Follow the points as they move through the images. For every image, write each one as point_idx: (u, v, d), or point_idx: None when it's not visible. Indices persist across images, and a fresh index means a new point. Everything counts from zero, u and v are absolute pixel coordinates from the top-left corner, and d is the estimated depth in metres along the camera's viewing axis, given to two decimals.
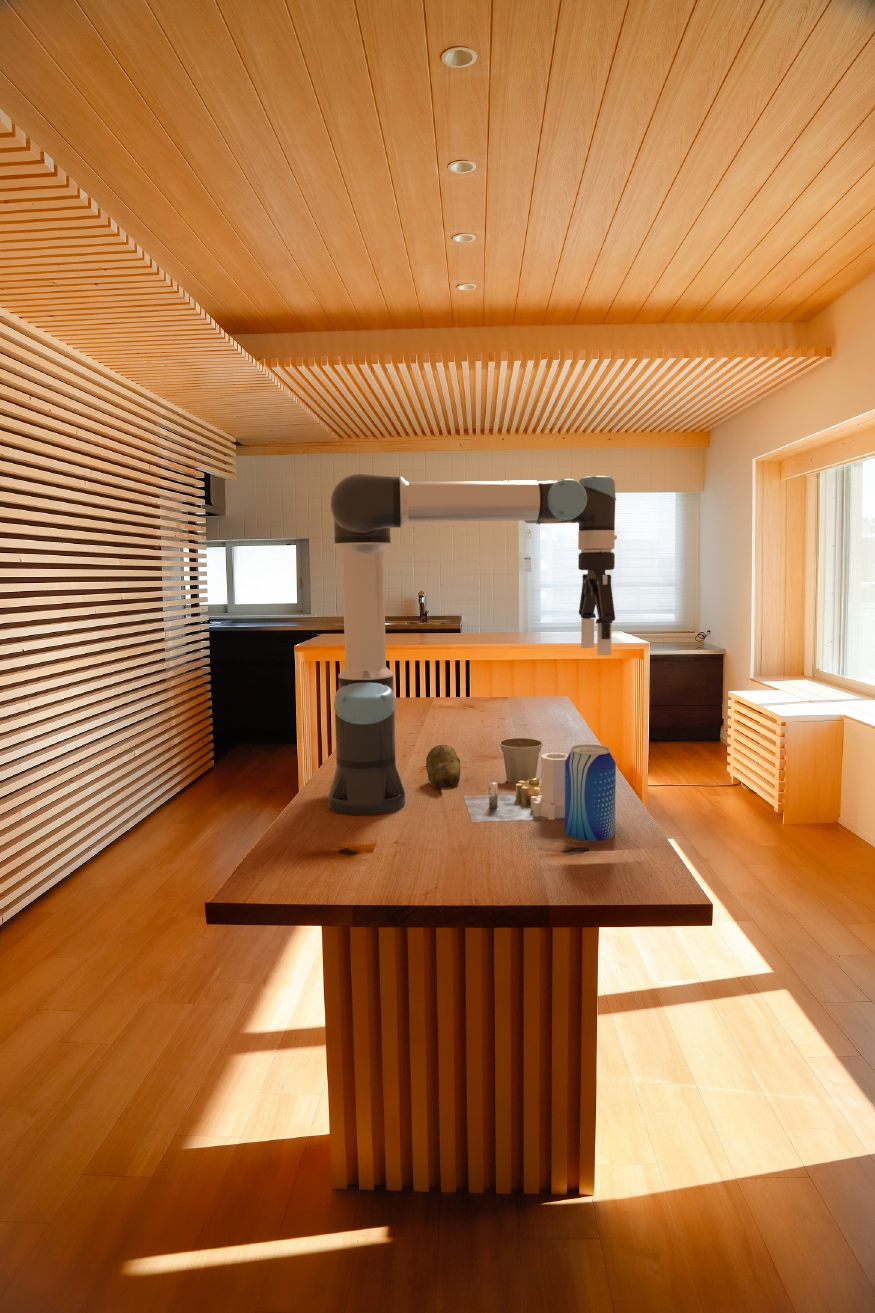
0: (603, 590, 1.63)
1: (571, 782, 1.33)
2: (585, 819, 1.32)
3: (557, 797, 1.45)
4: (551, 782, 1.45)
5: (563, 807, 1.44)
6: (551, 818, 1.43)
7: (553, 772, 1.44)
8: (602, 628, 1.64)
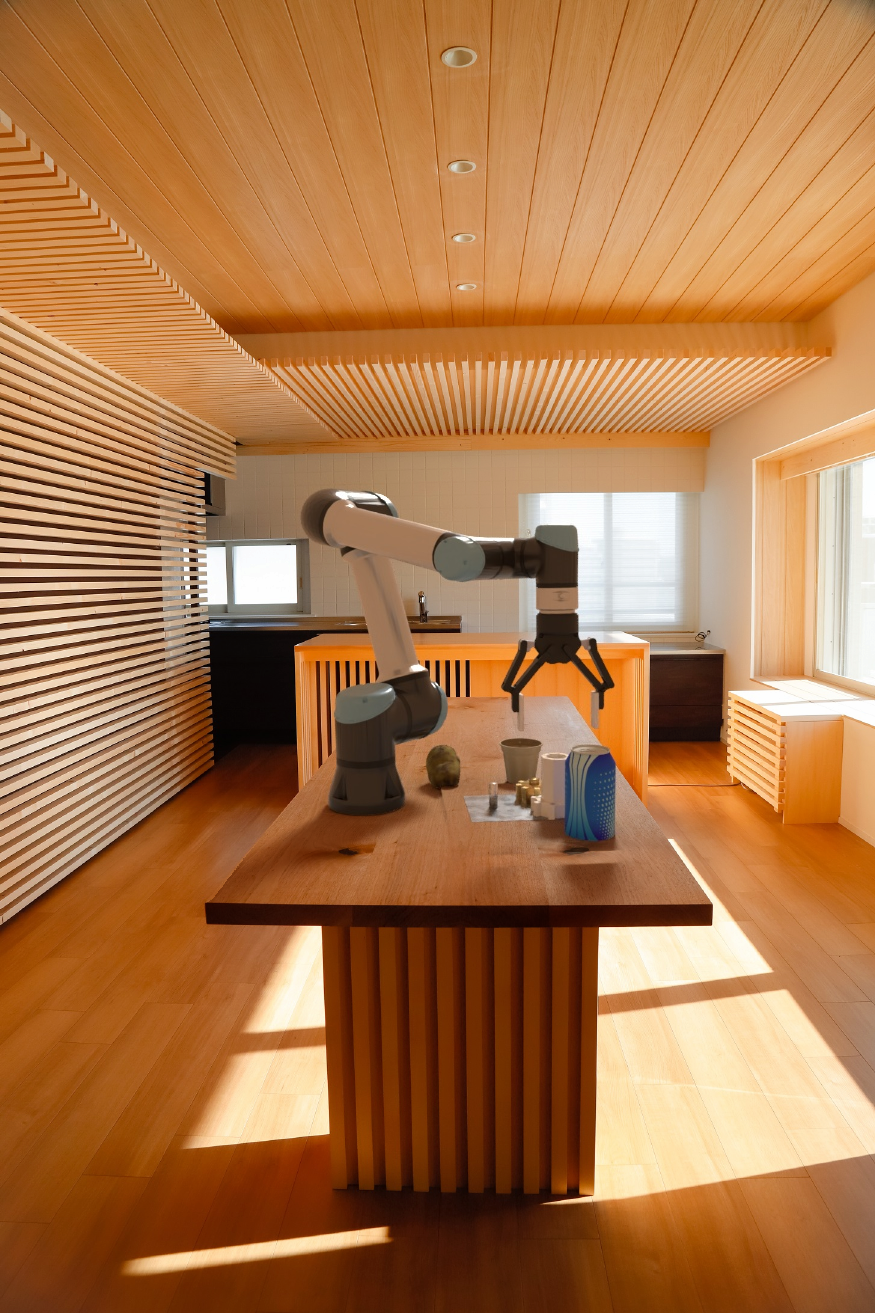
0: (515, 657, 1.44)
1: (571, 782, 1.33)
2: (585, 819, 1.32)
3: (557, 797, 1.45)
4: (551, 782, 1.45)
5: (563, 807, 1.44)
6: (551, 818, 1.43)
7: (553, 772, 1.44)
8: None
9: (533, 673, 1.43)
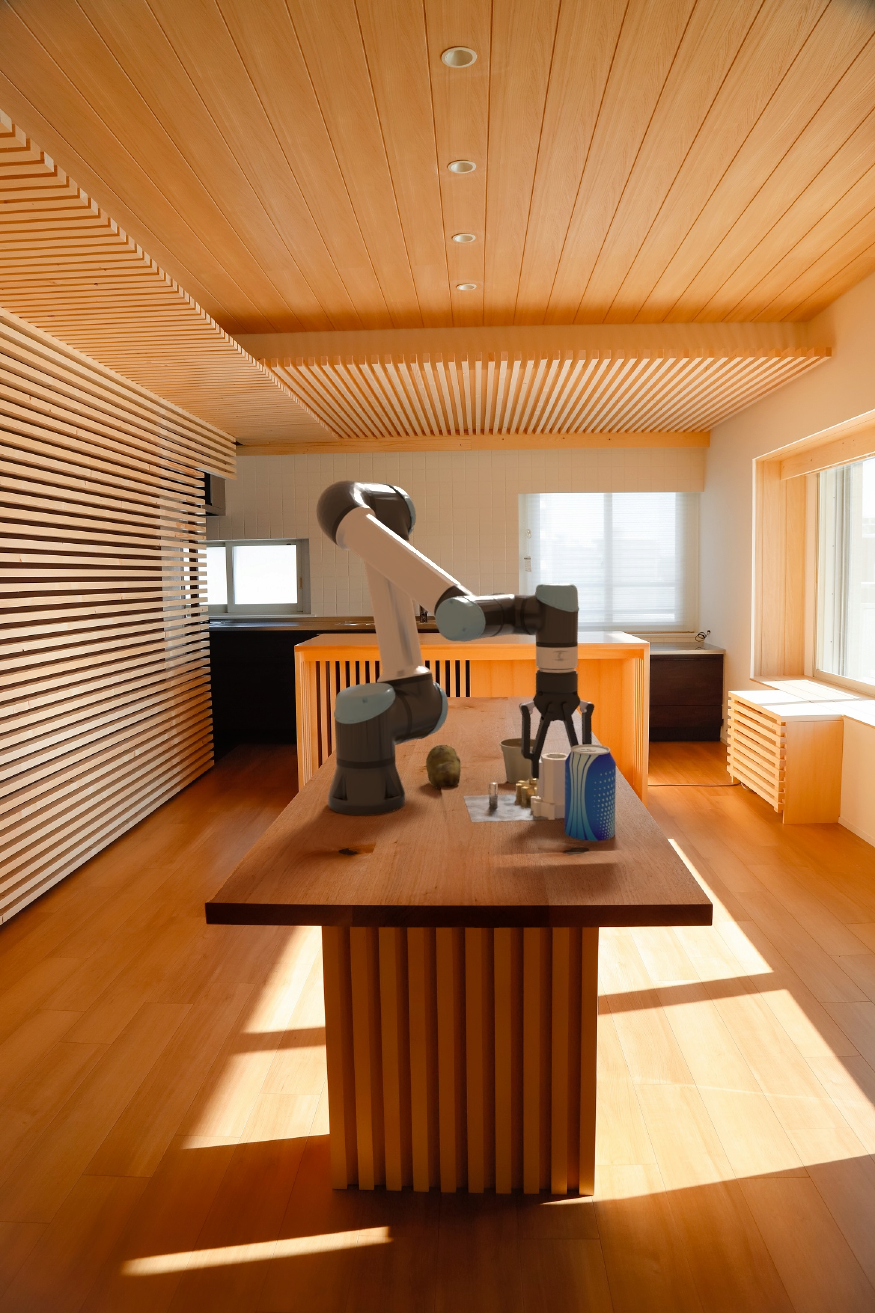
0: (522, 722, 1.46)
1: (571, 782, 1.33)
2: (585, 819, 1.32)
3: (557, 797, 1.45)
4: (551, 782, 1.45)
5: (563, 807, 1.44)
6: (551, 818, 1.43)
7: (553, 772, 1.44)
8: None
9: (544, 735, 1.45)
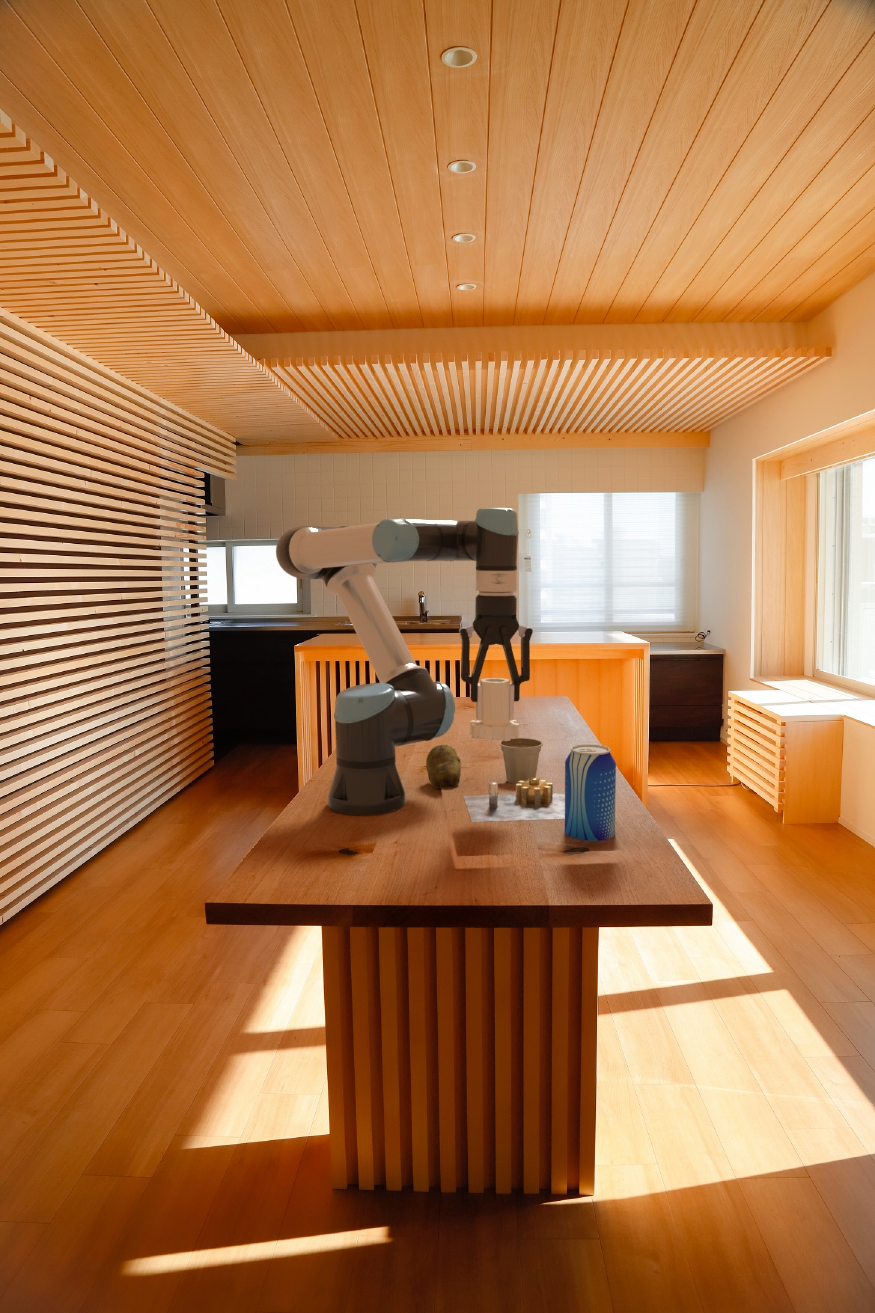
0: (462, 646, 1.48)
1: (571, 782, 1.33)
2: (585, 819, 1.32)
3: (495, 720, 1.47)
4: (489, 705, 1.47)
5: (500, 729, 1.46)
6: (488, 740, 1.46)
7: (491, 695, 1.46)
8: None
9: (483, 659, 1.47)
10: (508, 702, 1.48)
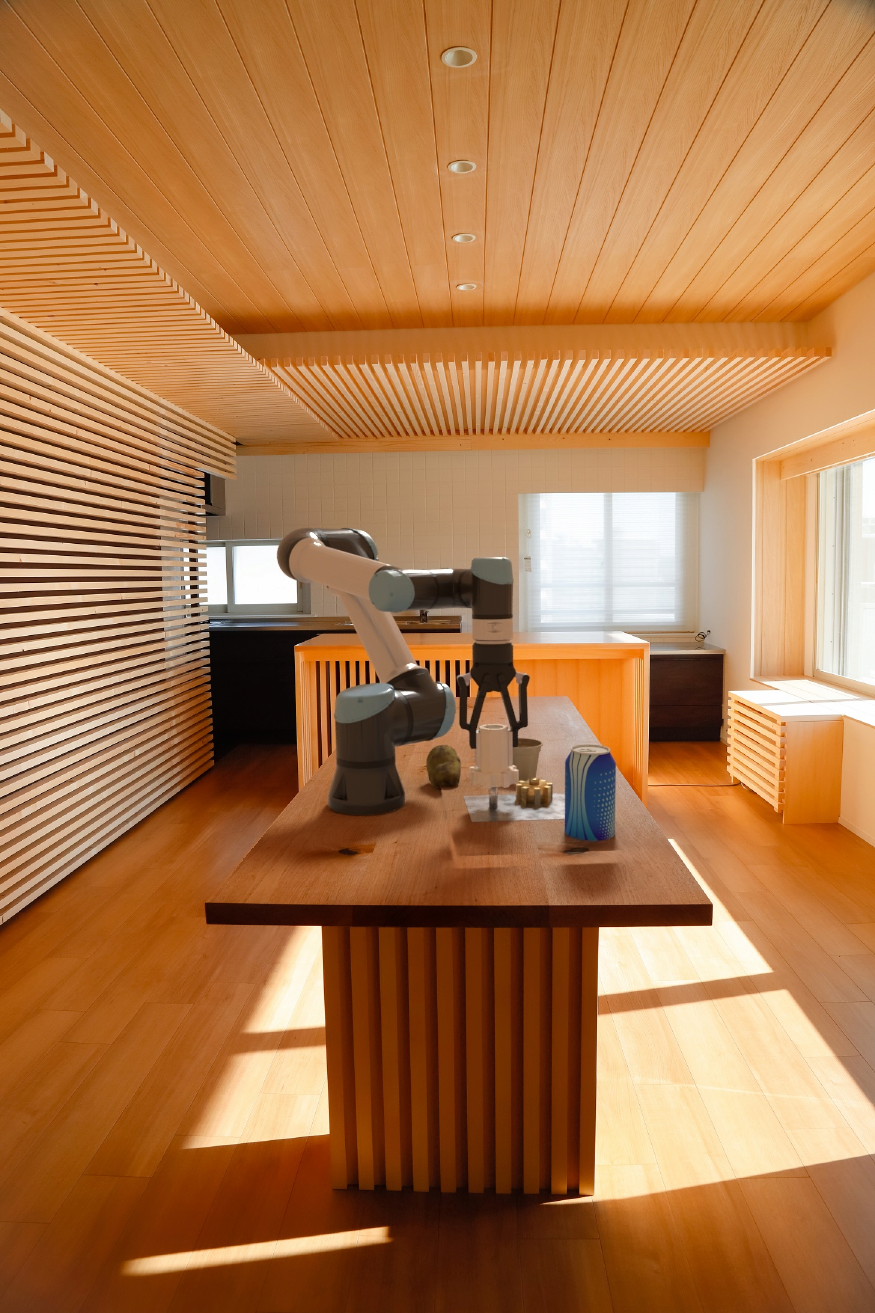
0: None
1: (571, 782, 1.33)
2: (585, 819, 1.32)
3: (494, 767, 1.48)
4: (488, 752, 1.48)
5: (499, 776, 1.47)
6: (487, 787, 1.46)
7: (489, 742, 1.47)
8: None
9: (481, 706, 1.48)
10: (507, 748, 1.49)
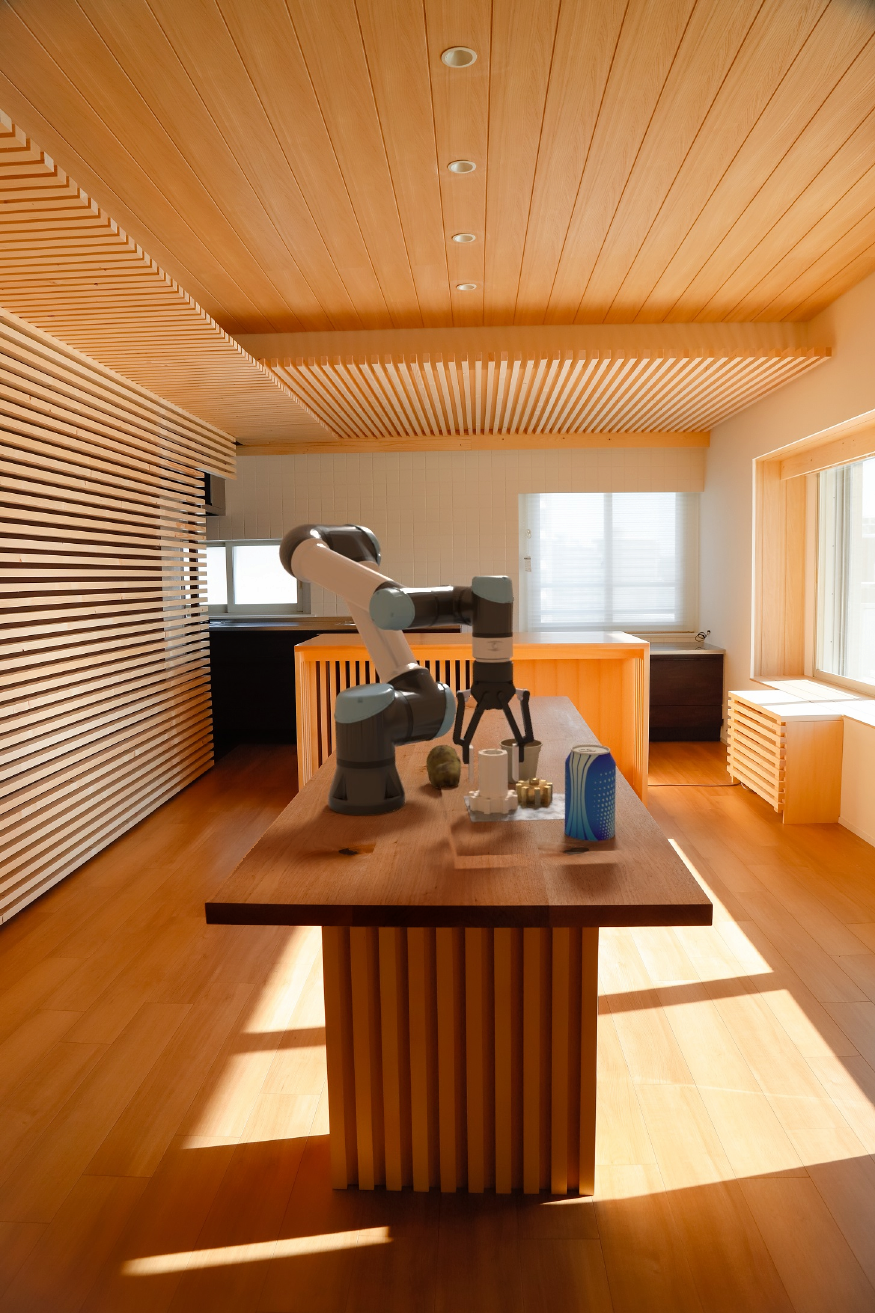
0: (457, 709, 1.49)
1: (571, 782, 1.33)
2: (585, 819, 1.32)
3: (493, 792, 1.48)
4: (487, 777, 1.48)
5: (498, 802, 1.48)
6: (486, 812, 1.47)
7: (489, 767, 1.48)
8: None
9: (477, 723, 1.48)
10: (506, 774, 1.49)
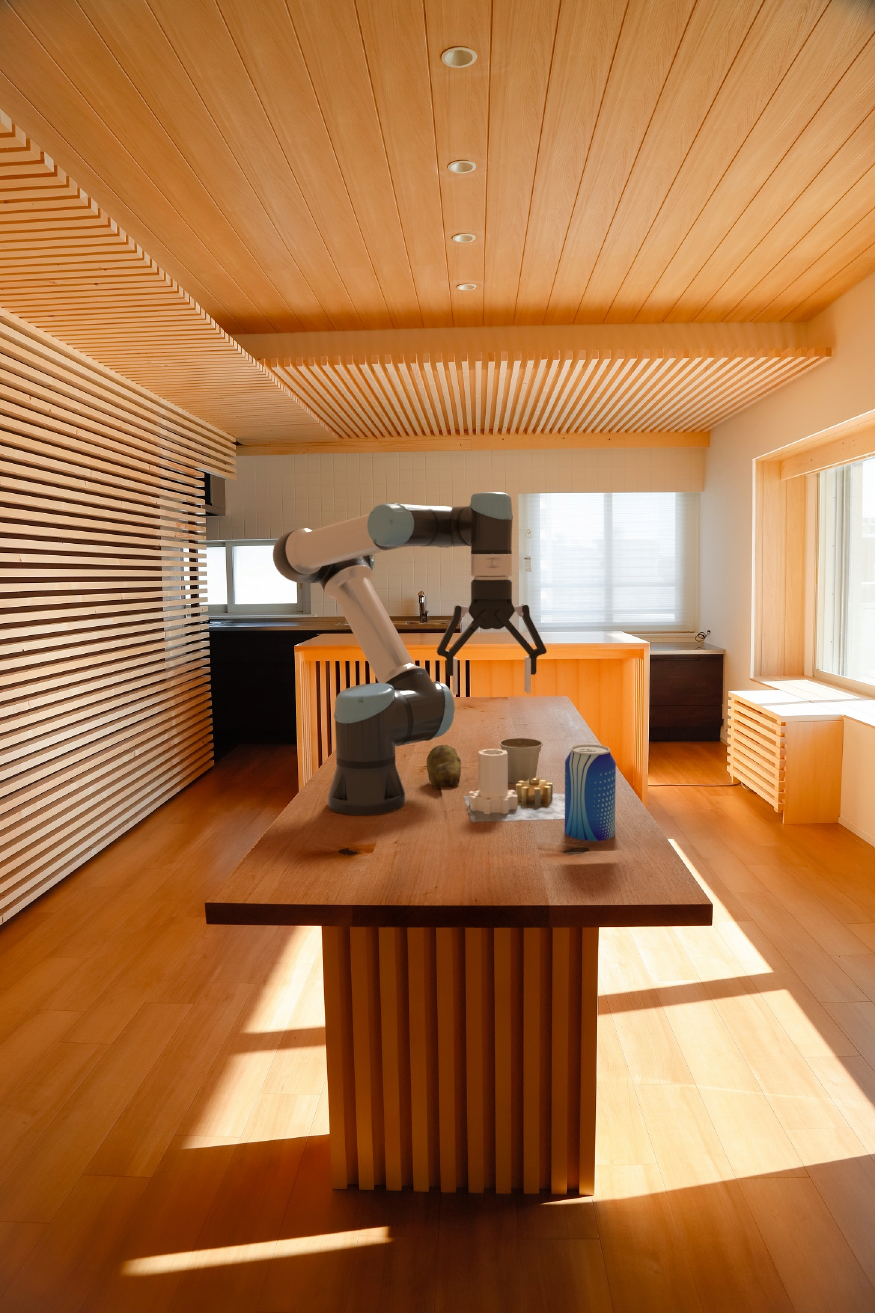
0: (450, 622, 1.48)
1: (571, 782, 1.33)
2: (585, 819, 1.32)
3: (493, 792, 1.48)
4: (487, 777, 1.48)
5: (498, 802, 1.48)
6: (486, 812, 1.47)
7: (489, 767, 1.48)
8: None
9: (467, 638, 1.47)
10: (506, 774, 1.49)
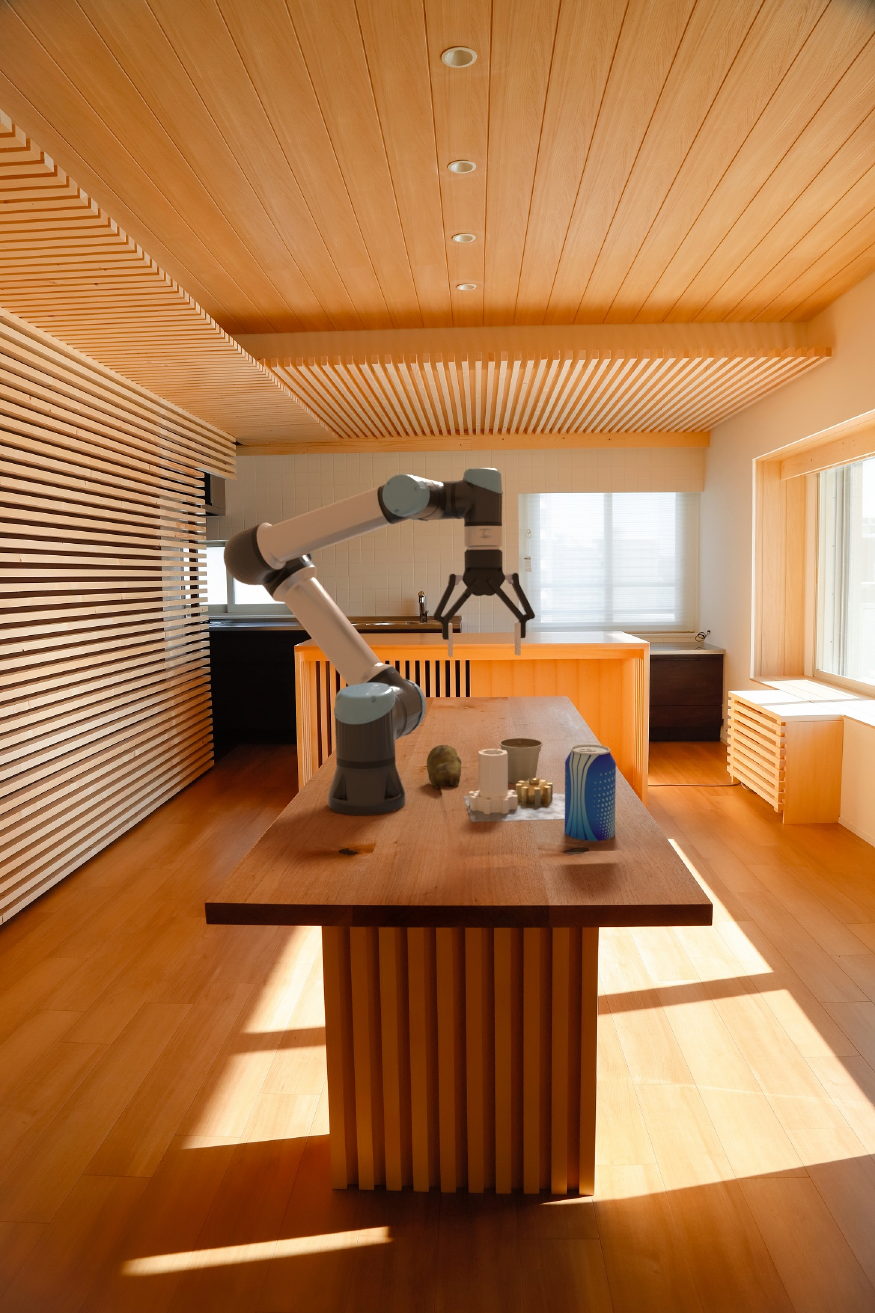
0: None
1: (571, 782, 1.33)
2: (585, 819, 1.32)
3: (493, 792, 1.48)
4: (487, 777, 1.48)
5: (498, 802, 1.48)
6: (486, 812, 1.47)
7: (489, 767, 1.48)
8: None
9: (461, 604, 1.58)
10: (506, 774, 1.49)
